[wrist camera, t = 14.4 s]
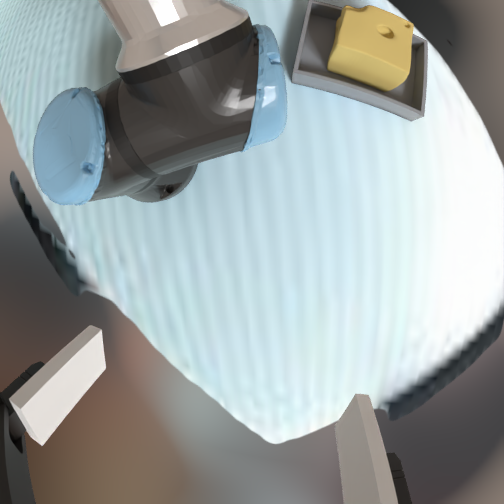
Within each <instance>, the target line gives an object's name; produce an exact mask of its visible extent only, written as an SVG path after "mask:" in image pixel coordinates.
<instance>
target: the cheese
mask: <svg viewBox="0 0 504 504" xmlns="http://www.w3.org/2000/svg"><path fill="white" fill-rule="evenodd" d="M413 27H414V25H413V24H412V23H411V22H409V21H407V20H405V19H403V18H401V17H398V16H397V15H394V14H392V13H390V12H387V11H385V10H382V9H380V8H377V7H374V6H370V5H368V6H365V7H363V8H360V9H358V8H354V7H351V6H348V5H346V6H345V7H344V8H343V9H342V13H341V17H339V18H338V20H337V22H336V29H335V39H334V43H333V47H332V50H331V53H330V55H329V59H328V64H327V70H328V71H331V72H334V73H337V74H339V75H342V76H345V77H348V78H350V79H353V80H356V81H358V82H361V83H364V84H367V85H369V86H372V87H374V88H377V89H379V90H381V91H383V92H387V91H389V90H392V89H394V88H396V87H397V86H399V85H400V84H402V83H403V82H404V81H405V80H406V78H407V76H408V75H409V72H410V65H411V45H412V35H413Z"/></svg>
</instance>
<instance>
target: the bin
mask: <svg viewBox="0 0 504 504" xmlns="http://www.w3.org/2000/svg"><path fill="white" fill-rule="evenodd" d="M342 9H343V8H342V7H338V6H334V5H330V4H326V3H322V2H317V1H313V0H309V2H308V6H307V11H306V15H305V20H304V24H303V29H302V33H301V38H300V42H299V47H298V51H297V56H296V60H295V65H294V69H293V75H292V83H294V84H299V85H303V86H307V87H312V88H316V89H320V90H323V91H327V92H331V93H334V94H338V95H341V96H344V97H348V98H351V99H354V100H357V101H360V102H363V103H366V104H369V105H372V106H374V107H377V108H380V109H383V110H385V111H388V112H390V113H393V114H395V115H398V116H400V117H403V118H405V119H407V120H410V121H414V120H416V119H419V118H421V117H424V111H425V100H426V87H427V60H428V46H427V41H426V40H424V39H422V38H420V37H418V36H416V35H414V34H413V35H412V45H411V65H410V72H409V75H408V76H407V78H406V80H405V81H404V82H403V83H402V84H400V85H399V86H397V87H396V88H394V89H392V90H389V91H387V92H383V91H381V90H379V89H377V88H374V87H372V86H369V85H367V84H364V83H361V82H358V81H356V80H353V79H350V78H348V77H345V76H342V75H339V74H337V73H334V72H331V71H328V70H327V64H328V59H329V55H330V53H331V50H332V47H333V43H334V39H335V29H336V22H337V20H338V18H339V17H341V13H342Z"/></svg>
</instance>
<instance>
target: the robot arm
mask: <svg viewBox="0 0 504 504" xmlns="http://www.w3.org/2000/svg"><path fill="white" fill-rule="evenodd" d="M98 1H99V3H100V5H101V7H102V8H103V10H104V12H105V13H106V15H107V17H108V19H109V20H110V22H111V24H112V25H113V27H114V29H115V31H116V32H117V34H118V36H119V37H120V39H121V41H122V48H121V51H120V53H119V56H118V59H117V62H116V65H115V68H116V70H117V71H118V73H119V75H120V76H121V77H120V78H119V79H117V80H115V81H113V82H111V83H110V84H108V85H106V86H104V87H103V88H101V89H99V90H97V91H94V92H93V91H91V90H90V89H88V88H82V87H81V88H71V89H68V90H65V91H63V92H61V93H60V94H59V95H57V96H56V97H55V98H54V99H53V100H52V101H51V103H50V104H49V105H48V107H47V108H46V110H45V111H44V113H43V115H42V117H41V119H40V122H39V124H38V128H37V132H36V135H35V139H34V146H33V164H34V171H35V175H36V179H37V181H38V184H39V186H40V188H41V190H42V191H43V193H44V194H45V195H47V196H48V198H49V199H50V200H51V201H53V202H55V203H57V204H60V205H71V204H74V205H83V204H85V203H86V202H90V201H95V200H100V199H106V198H112V197H118V196H124V195H127V196H129V197H131V198H133V199H135V200H138V201H141V202H158V201H163V200H167V199H169V198H172V197H173V196H175V195H177V194H178V193H180V192H181V191H182V190H183V189H184V188H185V187H186V186H187V185H188V184H189V182H190V181H191V179H192V177H193V176H194V174H195V171H196V169H197V165H198V163H201V162H204V161H207V160H210V159H214V158H217V157H220V156H224V155H227V154H231V153H234V152H238V151H240V152H244V151H245V150H248V149H249V148H250V147H253V146H256V145H259V144H263V143H266V142H269V141H272V140H274V139H276V138H277V137H278V136H279V135H280V134H281V133H282V132H283V130H284V128H285V125H286V120H287V92H286V83H285V75H284V70H283V66H282V64H281V63H280V60H281V59H280V53H279V47H278V44H277V41H276V38H275V36H274V33H273V32H272V30H271V29H270V28H269V27H268V26H266V25H259V24H256V25H253V26H252V23H251V20H250V17H249V14H248V11H247V10H245V9H243V8H240V7H238V6H236V5H233V4H231V3H229V2H227V1H225V0H98ZM105 369H106V365H105V357H104V349H103V340H102V330H101V329H99V328H96V327H94V326H92V325H90V326H88V327H87V328H86V329H85V330H84V331H83V332H82V333H80V334H79V335H78V336H77V337H76V338H75V339H73V340H72V341H71V342H70V343H69V344H68V345H66V346H65V347H64V348H63V349H62V350H61V351H60V352H59V353H57V354H56V355H55V356H54V357H53V358H52V359H51V360H50V361H49V362H47V363H46V364H44V363H42V362H38V363H35V364H33V365H31V366H30V367H29V368H28V369H27V370H25V372H23V373H22V374H21V375H20V377H18V378H17V379H15V380H14V381H13V382H12V383H11V384H10V385H9V386H8V387H7V388H6V389H5V390H4V391H3V392H1V393H0V504H36V502H35V498H34V494H33V489H32V484H31V479H30V474H29V467H28V461H27V452H26V443H25V435H24V432H25V431H26V430H27V432H28V433H29V435H30V436H31V438H33V439H34V440H35V441H37V442H38V443H39V444H41V445H42V446H43V445H44V443H45V442H46V440H47V439H48V438H49V437H50V436H51V434H52V433H53V432H54V430H55V429H56V428H57V427H58V425H59V424H60V423H61V422H62V420H63V419H64V418H65V417H66V415H67V414H68V413H69V412H70V411H71V409H72V408H73V407H74V406H75V404H76V403H77V402H78V401H79V400H80V398H81V397H82V396H83V395H84V393H85V392H86V391H87V390H88V389H89V388H90V386H91V385H92V384H93V383H94V382H95V380H96V379H97V378H98V377H99V376H100V374H101V373H102V372H103V371H104V370H105ZM335 433H336V440H337V448H338V455H339V463H340V471H341V480H342V490H343V499H344V500H343V501H344V504H412V502H411V498H410V494H409V491H408V486H407V483H406V479H405V478H404V476H405V475H404V472H403V471H402V470H403V468H402V465H401V461H400V460H399V458H398V457H397V456H396V454H395V453H386V451H385V448H384V444H383V441H382V437H381V434H380V430H379V427H378V423H377V420H376V417H375V414H374V410H373V407H372V404H371V401H370V398H369V395H364V394H355V396H354V397H353V399H352V401H351V402H350V404H349V405H348V407H347V409H346V410H345V412H344V413H343V415H342V416H341V418H340V419H339V421H338V422H337V424H336V425H335Z"/></svg>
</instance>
